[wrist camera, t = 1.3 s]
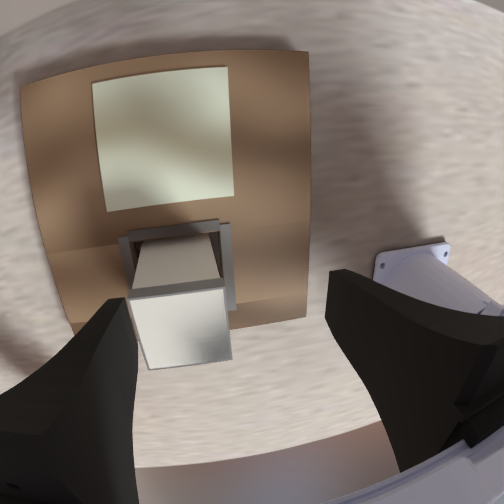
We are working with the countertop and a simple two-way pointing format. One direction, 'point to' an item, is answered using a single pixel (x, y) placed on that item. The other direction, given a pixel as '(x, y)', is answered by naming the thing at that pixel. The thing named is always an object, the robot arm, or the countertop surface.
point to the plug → (179, 303)
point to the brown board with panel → (175, 173)
